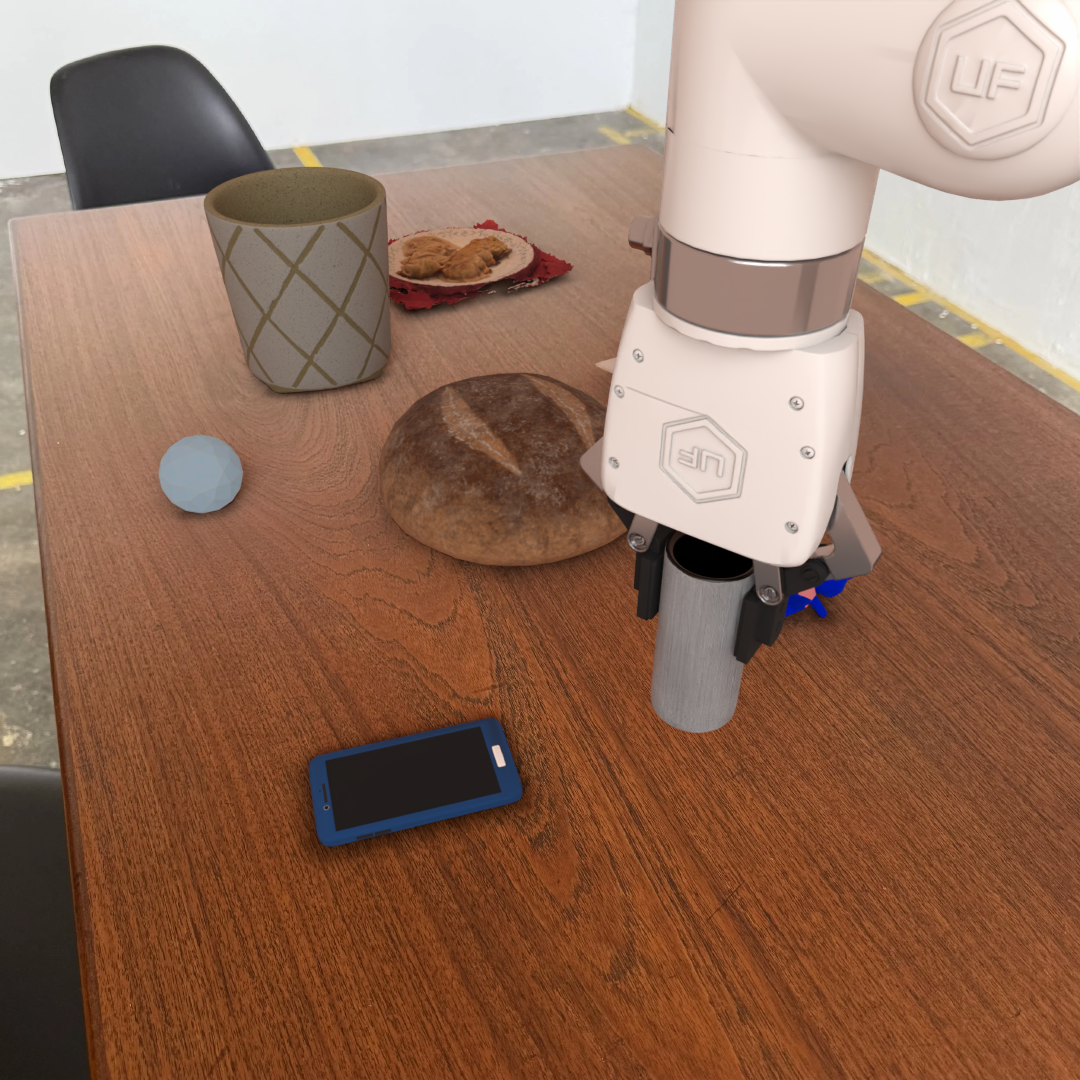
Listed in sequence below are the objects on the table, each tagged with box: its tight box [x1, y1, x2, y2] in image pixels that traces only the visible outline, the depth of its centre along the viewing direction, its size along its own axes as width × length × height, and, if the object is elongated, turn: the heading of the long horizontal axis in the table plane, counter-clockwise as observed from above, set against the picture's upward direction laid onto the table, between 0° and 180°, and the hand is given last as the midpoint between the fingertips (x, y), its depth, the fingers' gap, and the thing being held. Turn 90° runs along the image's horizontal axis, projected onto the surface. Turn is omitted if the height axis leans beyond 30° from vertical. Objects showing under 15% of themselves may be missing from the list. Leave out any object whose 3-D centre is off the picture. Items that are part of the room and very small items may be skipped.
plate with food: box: [388, 219, 574, 311], centre depth 137 cm, size 24×26×4 cm
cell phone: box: [308, 717, 524, 847], centre depth 67 cm, size 7×14×1 cm, turn 107°
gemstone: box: [157, 434, 244, 514], centre depth 93 cm, size 8×8×5 cm
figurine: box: [785, 577, 854, 618], centre depth 80 cm, size 5×8×5 cm, turn 133°
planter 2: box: [650, 530, 755, 734], centre depth 48 cm, size 4×4×10 cm
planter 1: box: [203, 166, 392, 394], centre depth 109 cm, size 19×19×20 cm
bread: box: [378, 372, 628, 567], centre depth 91 cm, size 26×27×10 cm
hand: (704, 621), depth 48 cm, fingers closed on planter 2, 4 cm apart
